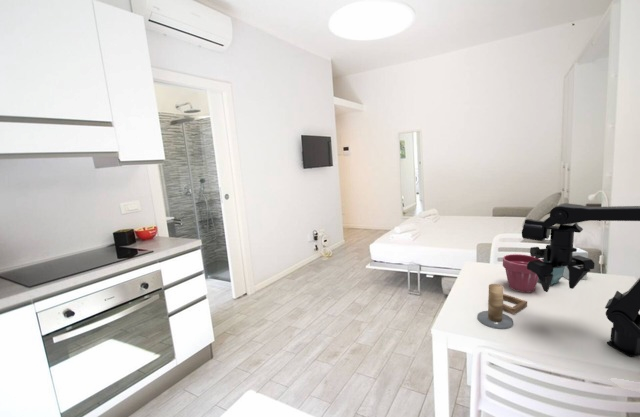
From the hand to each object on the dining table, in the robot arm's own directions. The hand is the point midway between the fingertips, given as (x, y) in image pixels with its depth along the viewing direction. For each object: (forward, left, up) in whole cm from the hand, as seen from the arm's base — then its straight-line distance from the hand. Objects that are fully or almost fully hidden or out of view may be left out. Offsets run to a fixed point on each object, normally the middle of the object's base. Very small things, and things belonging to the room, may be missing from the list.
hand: (558, 289), depth 98 cm
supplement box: (+32, -39, -13) cm, 52 cm away
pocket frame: (+16, +5, -13) cm, 21 cm away
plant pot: (+28, -11, -13) cm, 33 cm away
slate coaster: (+8, +16, -13) cm, 22 cm away
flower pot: (+30, -25, -13) cm, 41 cm away
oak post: (+8, +16, -12) cm, 22 cm away
